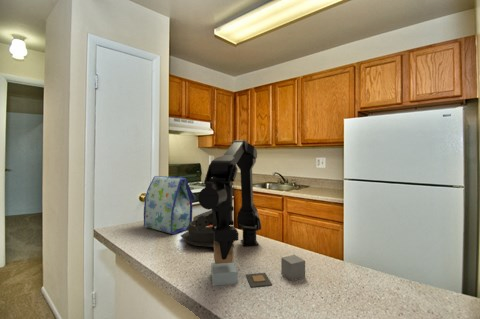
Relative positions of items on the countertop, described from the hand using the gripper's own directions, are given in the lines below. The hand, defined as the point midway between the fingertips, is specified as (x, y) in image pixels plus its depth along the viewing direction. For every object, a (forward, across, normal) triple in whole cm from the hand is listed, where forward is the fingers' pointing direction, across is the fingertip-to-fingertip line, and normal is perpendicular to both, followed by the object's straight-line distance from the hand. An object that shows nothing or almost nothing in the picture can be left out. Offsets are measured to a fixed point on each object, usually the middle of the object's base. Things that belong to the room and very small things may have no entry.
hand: (222, 255), depth 72 cm
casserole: (+7, -32, -3) cm, 33 cm away
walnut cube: (+1, 0, 0) cm, 1 cm away
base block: (+7, 0, 0) cm, 7 cm away
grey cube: (+7, +2, +21) cm, 22 cm away
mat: (+7, +3, +10) cm, 12 cm away
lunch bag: (+7, -56, -21) cm, 60 cm away
